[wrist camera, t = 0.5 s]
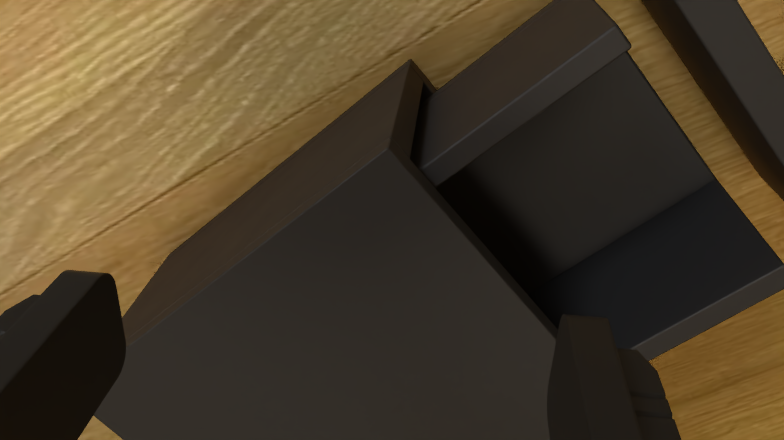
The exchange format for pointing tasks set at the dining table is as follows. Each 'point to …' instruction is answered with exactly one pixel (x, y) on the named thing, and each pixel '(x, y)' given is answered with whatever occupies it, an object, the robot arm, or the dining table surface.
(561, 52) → the drawer
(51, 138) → the dining table surface
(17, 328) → the robot arm
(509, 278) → the cabinet
